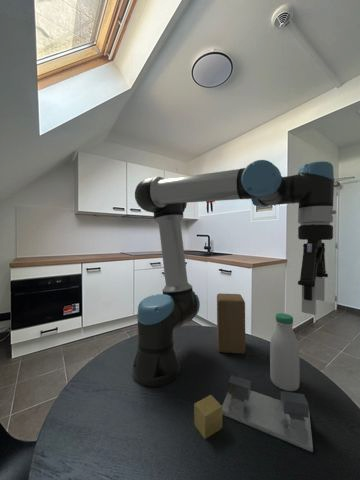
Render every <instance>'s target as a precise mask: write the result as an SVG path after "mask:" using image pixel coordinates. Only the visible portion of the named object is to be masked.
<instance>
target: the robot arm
mask: <svg viewBox="0 0 360 480" xmlns="http://www.w3.org/2000/svg"><path fill="white" fill-rule="evenodd" d="M281 173H282V172H281V171H280V169H279V168H278V167H277V166H276V165H275V164H273V162H271V161H269V160H266V159H258V160H257V159H256V160H255V161H253V162H251V163H249V164H248V165H246V167H243V168H238V169H229V170H222V171H216V172H215V171H214V172H208V173H202V174H201V173H200V174H194V175H187V176H181V177H179V176H178V177H172V178H164V177H162V176H154V177H149V178H145V179H143V180H142V181H139V183H138V184H137V186H136V187H135V190H134V198H135V201H136V204H137V205H138V207H140V209H142V210H143V211H145V212H147V213H153V221H154V222H155V223H157V224H158V228H159V237H160V239H159V240H160V246H161V255H162V263H163V264H162V265H163V273H164V283H165V286H164V287H163V288H162V291H161V292H162V294H161V293H158V294H155V295H150V296H147V297H145V298H143V299H142V300H140V302H139V304H138V306H137V315H136V318H137V340H138V341H137V345H138V346H137V350H136V354H135V358H134V360H133V364H132V376H133V377H132V378H133V379H134V380H135V381H136V382H137V383H139V384H140V385H143V386H146V387H153V388H154V387H161V386H164V385H168V384H170V383H171V382H173V381H174V380H175V379H177V377H178V375H179V373H180V360H179V357H178V354H177V350H176V348H175V331H176V330H178V329H179V328H182V326H184V325H185V324H188V323H190V322H191V321H192V320H193V319H194V318H195V317H196V316H197V315H198V313H199V311H200V307H201V306H200V305H201V303H200V298H199V296H198V295H197V294H196V292H195V291H194V290H193V285H191V283H189V281H188V275H187V274H188V273H187V266H186V258H185V249H184V241H183V233H182V226H181V224H182V223H181V221H182V220H183V219H184V212H185V211H186V209H187V205H188V203H201V202H202V203H205V202H215V201H217V202H218V201H219V202H220V201H233V200H234V201H235V200H236V201H237V200H251V203H252V205H254V206H255V207H268V206H279V205H289V204H291V205H292V204H298V210H297V211H298V212H297V216H298V217H297V223H298V224H300V225H299V226H298V227H297V228H298V229H297V233H298V235H297V238H298V240H301V241H302V240H304V241H305V240H306V241H307V242H306V243H303V245H302V249H303V250H302V251H303V252H302V253H303V254H302V260H301V261H302V262H301V269H300V277H299V280H298V281H297V285H299V286H301V313H303V314H308V315H313V316H315V315H317V314H316V311H317V310H316V308H317V305H316V304H317V302H316V301H321V302H325V291H326V290H325V287H326V286H325V284H326V283H325V281H326V280H325V279H326V278H329V274H328V273H327V271H326V259H325V258H326V255H325V254H326V253H325V252H326V247H325V245H326V244H325V242H322V241H326V240H327V241H328V240H329V241H331V240H332V239H333V238H334V226H333V225H332V223H333V222H334V215H336V214H337V210H335V209H334V194H335V190H334V189H335V177H334V166H333V164H332V163H331V162H330V161H323V160H322V161H321V160H320V161H312V162H310V163H305V164H303V165H302V166H300V167H299V169H298V173H297V174H294V175H293V174H292V175H288V176H287V175H286V176H282V174H281Z"/></svg>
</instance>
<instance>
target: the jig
mask: <svg viewBox="0 0 360 480" xmlns="http://www.w3.org/2000/svg"><path fill="white" fill-rule="evenodd" d="M251 383H252V381H251V380H248V379H245V378H242V377H239V376H236V375H232V374H231V375H230V377H229V379H228V383H227V384H228V386H227V387H228V389H227V392H226V396H225V398H224V401H223V404H221V405H222V416H225V417H227V418H229V419H232V420H234V421H237V422H240V423H241V424H244V425H247V426H248V427H251V428H254V429H255V430H258V431H261V432H263V433H265V434H268V435H271V436H272V437H275V438H277V439H279V440H282V441H284V442H287V443H289V444H292V445H293V446H296V447H298V448H301V449H303V450H306V451H308V452H311V453H314V445H313V435H312V434H313V433H312V428H311V427H312V426H311V419H310V418H311V417H310V416H311V414H310V410H309V409H310V408H309V407H310V406H309V403H308V400H307V398H306V396H305V394H304V393H299V392H297V393H296V392H293V391H286V390H280V399H276V398H274V397H271V396H268V395H266V394H263V393H259V392H257V391H254V390H252V389H251V388H252V386H251V385H252V384H251Z"/></svg>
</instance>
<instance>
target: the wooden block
mask: <svg viewBox="0 0 360 480" xmlns="http://www.w3.org/2000/svg"><path fill="white" fill-rule="evenodd" d="M216 338H217V340H216V341H217V350H218V352H219V353H227V354H228V353H229V354H230V353H231V354H245V353H246V302H245V300H244V298H243V295H242V294H241V293H218V294H217V295H216Z"/></svg>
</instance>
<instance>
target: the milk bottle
mask: <svg viewBox="0 0 360 480" xmlns="http://www.w3.org/2000/svg"><path fill="white" fill-rule="evenodd" d="M275 324H276V325H275V328H274V330H273V332H272V334H271V337H270V342H269V343H270V345H269V349H270V350H269V351H270V352H269V363H270V365H269V367H270V368H269V370H270V371H269V372H270V378H269V379H270V380H271V383H273V385H274V386H276V387H277V388H278V389H281V391H285V392H295V391H297V390H298V389H299V387H300V373H301V372H300V347H299V346H300V345H299V342H298V338H297V336H296V334H295V332H294V329H293V325H294V318H293V316H292V315H291V314H288V313H282V312H281V313H280V312H279V313H276V314H275Z"/></svg>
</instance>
